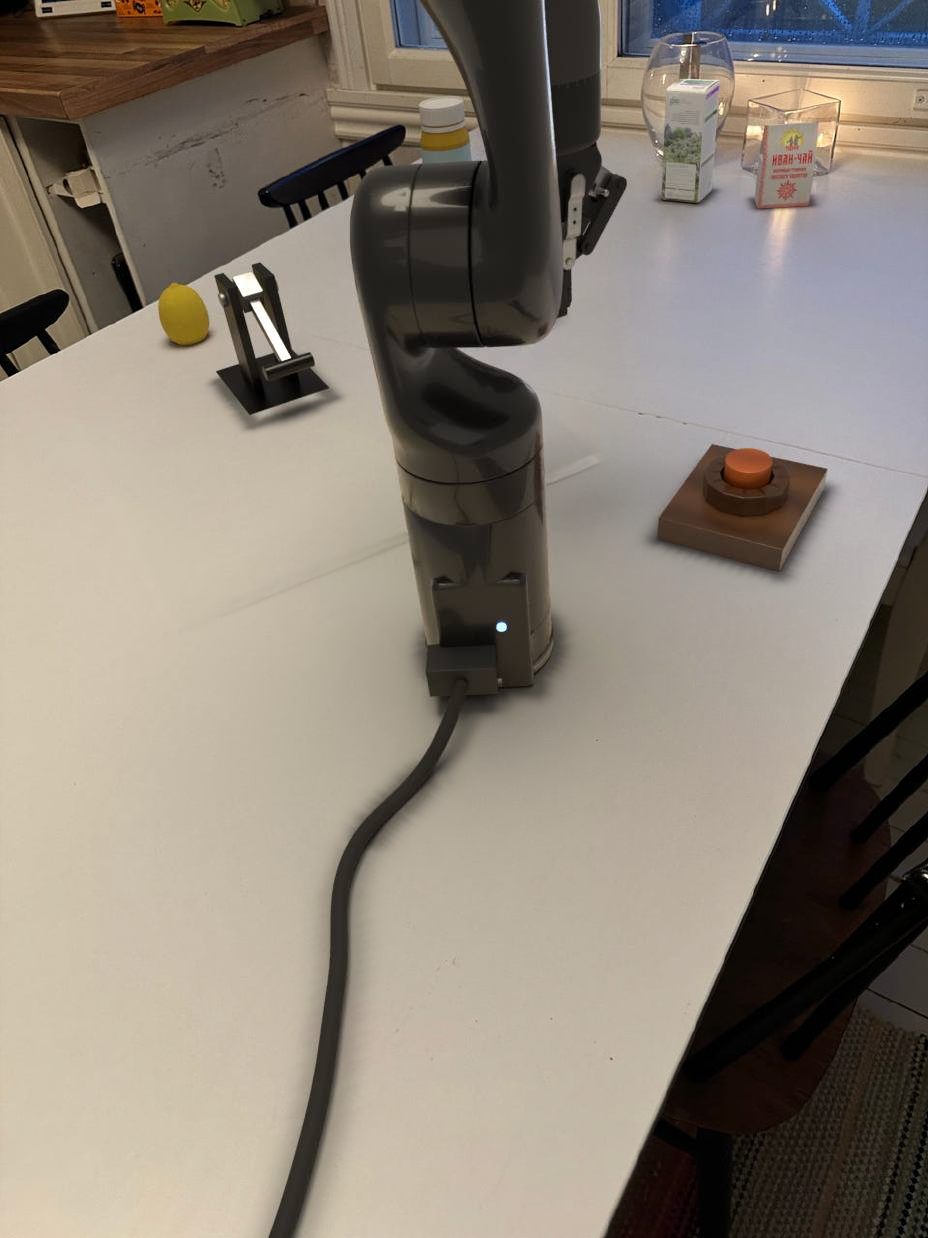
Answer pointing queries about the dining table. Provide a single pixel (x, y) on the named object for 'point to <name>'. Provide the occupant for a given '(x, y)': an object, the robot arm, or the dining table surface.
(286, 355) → the lever
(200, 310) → the lemon
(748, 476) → the button
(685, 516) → the button box
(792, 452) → the dining table surface
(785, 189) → the tea box
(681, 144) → the syrup box
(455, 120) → the bottle
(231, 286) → the bracket
